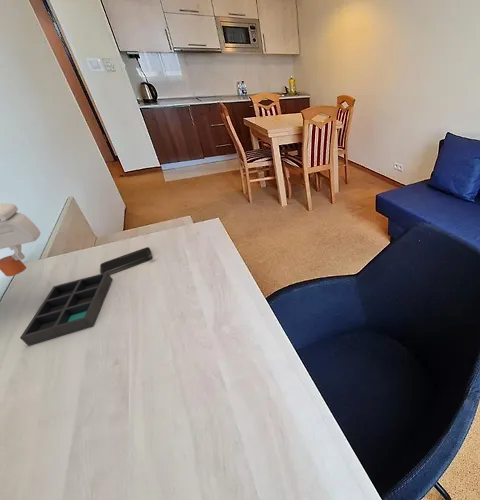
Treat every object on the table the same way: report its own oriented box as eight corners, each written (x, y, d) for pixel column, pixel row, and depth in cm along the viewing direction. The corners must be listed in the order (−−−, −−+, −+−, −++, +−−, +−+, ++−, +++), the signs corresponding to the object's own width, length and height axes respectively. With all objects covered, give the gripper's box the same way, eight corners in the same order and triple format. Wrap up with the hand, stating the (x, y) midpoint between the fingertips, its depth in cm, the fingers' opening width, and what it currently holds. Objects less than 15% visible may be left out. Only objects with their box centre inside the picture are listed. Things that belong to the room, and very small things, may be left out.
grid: (28, 345, 76) (19, 338, 74) (60, 293, 93) (53, 286, 91) (93, 326, 80) (86, 318, 78) (112, 279, 96) (107, 271, 95)
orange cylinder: (2, 278, 81) (-9, 266, 79) (10, 269, 85) (-1, 257, 82) (22, 273, 82) (11, 261, 80) (29, 264, 86) (19, 253, 83)
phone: (151, 256, 103) (100, 274, 97) (152, 258, 104) (102, 277, 98) (148, 246, 109) (100, 263, 102) (150, 248, 110) (102, 265, 103)
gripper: (-100, 235, 68) (-49, 281, 76) (10, 212, 74) (47, 257, 82) (-80, 222, 73) (-33, 267, 81) (22, 202, 79) (56, 246, 87)
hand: (8, 262), depth 82 cm, fingers closed on orange cylinder, 4 cm apart
